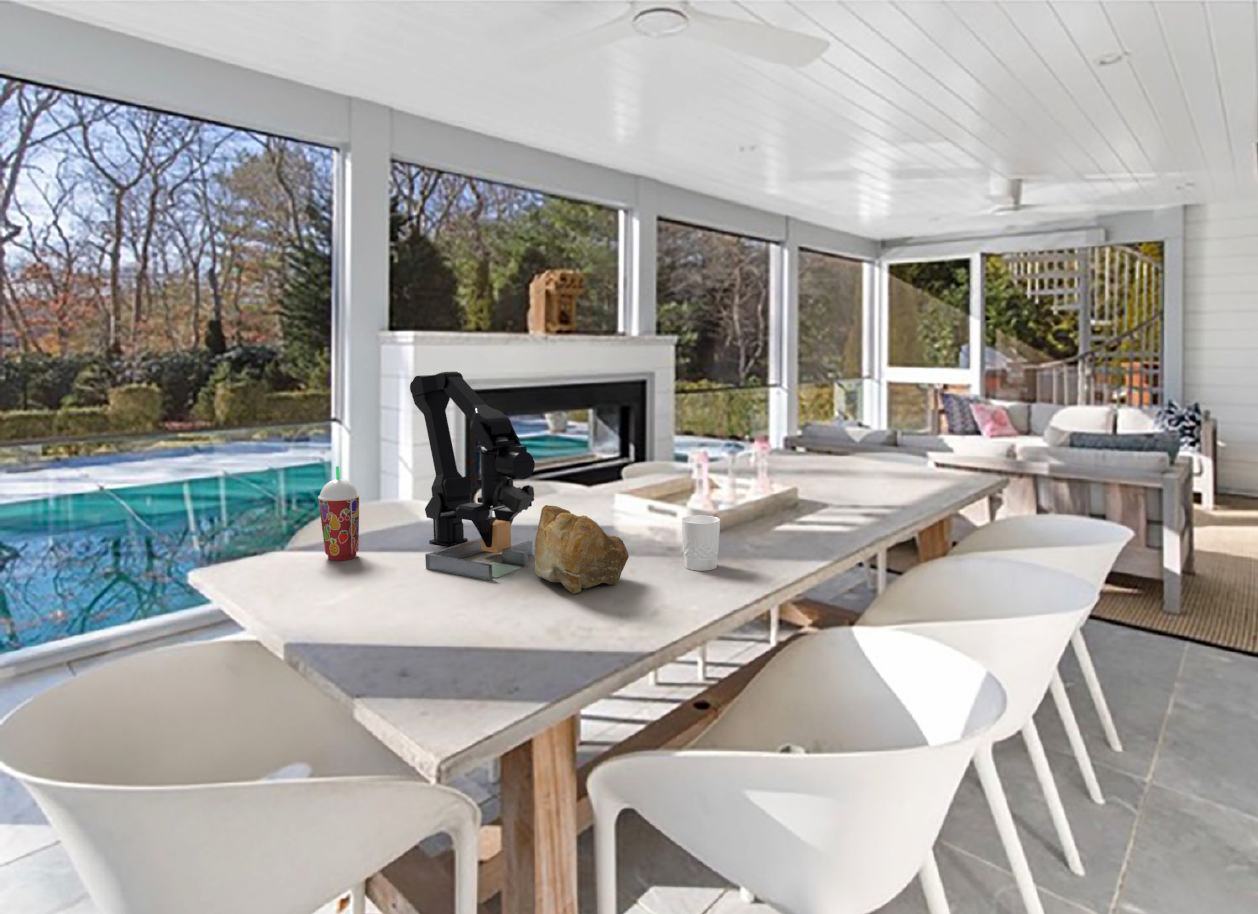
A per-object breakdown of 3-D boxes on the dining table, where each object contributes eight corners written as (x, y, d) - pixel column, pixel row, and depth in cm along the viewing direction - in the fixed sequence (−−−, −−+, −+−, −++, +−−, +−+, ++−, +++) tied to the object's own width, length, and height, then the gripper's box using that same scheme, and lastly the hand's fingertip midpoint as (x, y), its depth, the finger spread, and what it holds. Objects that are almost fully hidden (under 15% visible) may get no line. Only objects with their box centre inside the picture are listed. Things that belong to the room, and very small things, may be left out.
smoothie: (370, 555, 174) (366, 465, 171) (342, 564, 166) (337, 470, 164) (342, 551, 177) (337, 462, 175) (313, 560, 170) (307, 468, 167)
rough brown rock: (645, 600, 145) (650, 519, 144) (557, 602, 139) (562, 518, 138) (604, 571, 167) (609, 500, 166) (527, 572, 161) (531, 499, 160)
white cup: (723, 563, 166) (723, 516, 165) (714, 573, 159) (715, 524, 158) (687, 560, 169) (687, 514, 168) (676, 570, 162) (677, 522, 160)
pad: (465, 572, 160) (465, 571, 160) (491, 563, 167) (491, 561, 167) (495, 578, 156) (495, 576, 156) (521, 568, 163) (521, 567, 163)
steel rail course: (425, 568, 163) (425, 554, 163) (490, 547, 180) (490, 534, 180) (489, 580, 154) (488, 565, 154) (550, 557, 171) (550, 544, 171)
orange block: (481, 550, 172) (480, 523, 171) (495, 546, 176) (494, 519, 175) (497, 553, 170) (496, 525, 169) (511, 548, 173) (510, 521, 173)
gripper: (494, 483, 158) (496, 559, 161) (550, 471, 174) (551, 540, 176) (453, 479, 164) (455, 552, 166) (510, 467, 180) (512, 534, 182)
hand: (496, 544), depth 173 cm, fingers closed on orange block, 4 cm apart
